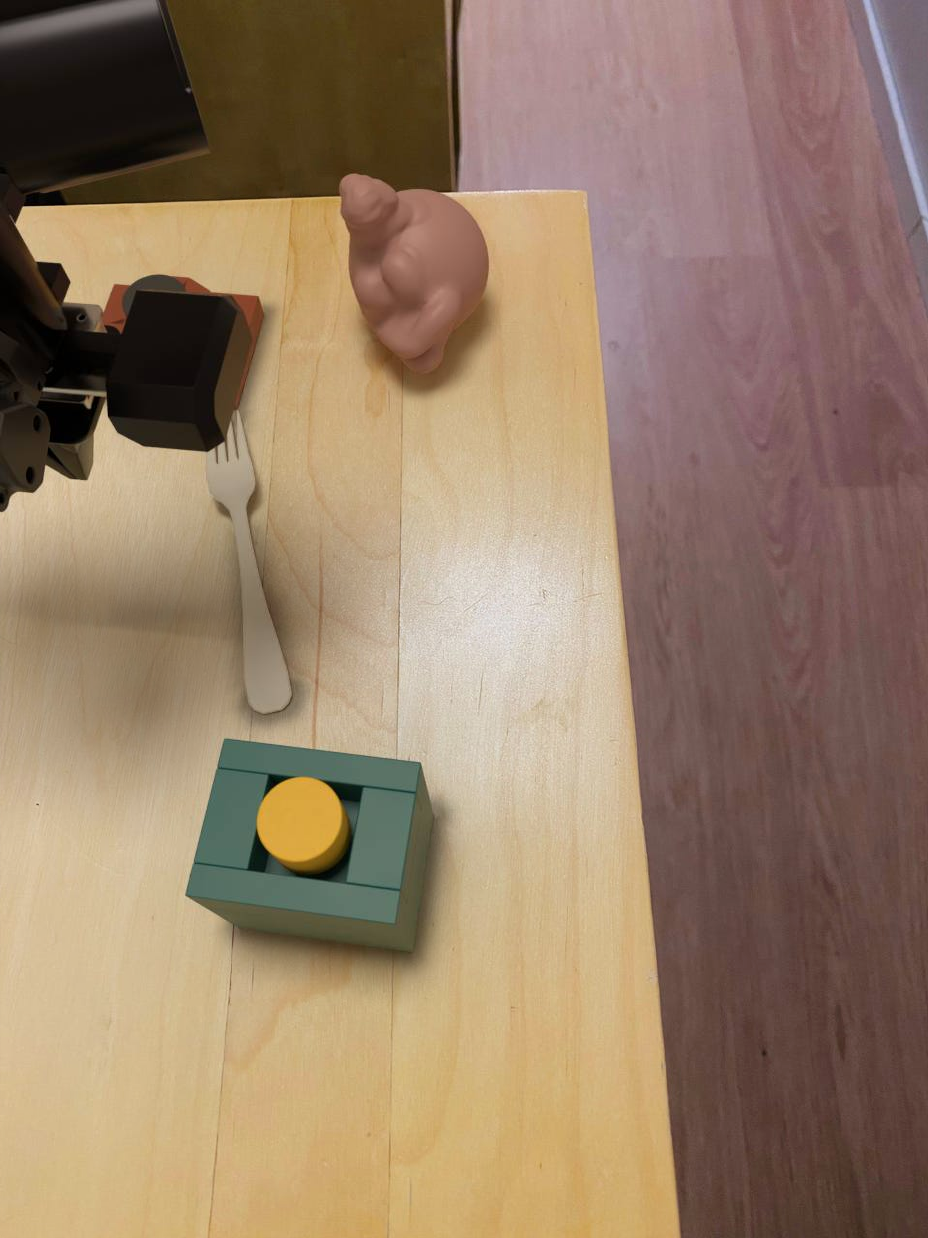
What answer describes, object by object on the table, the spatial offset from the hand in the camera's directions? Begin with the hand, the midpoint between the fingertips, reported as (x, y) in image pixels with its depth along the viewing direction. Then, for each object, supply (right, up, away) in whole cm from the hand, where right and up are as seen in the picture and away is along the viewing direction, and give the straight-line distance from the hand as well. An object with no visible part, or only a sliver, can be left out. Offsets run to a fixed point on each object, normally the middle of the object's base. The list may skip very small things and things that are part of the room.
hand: (82, 471), depth 47 cm
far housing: (-1, +11, +19) cm, 22 cm away
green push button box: (+11, -20, +5) cm, 23 cm away
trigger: (+11, -16, -3) cm, 20 cm away
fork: (+5, -3, +13) cm, 14 cm away
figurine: (+15, +12, +20) cm, 28 cm away
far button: (-1, +12, +17) cm, 20 cm away
